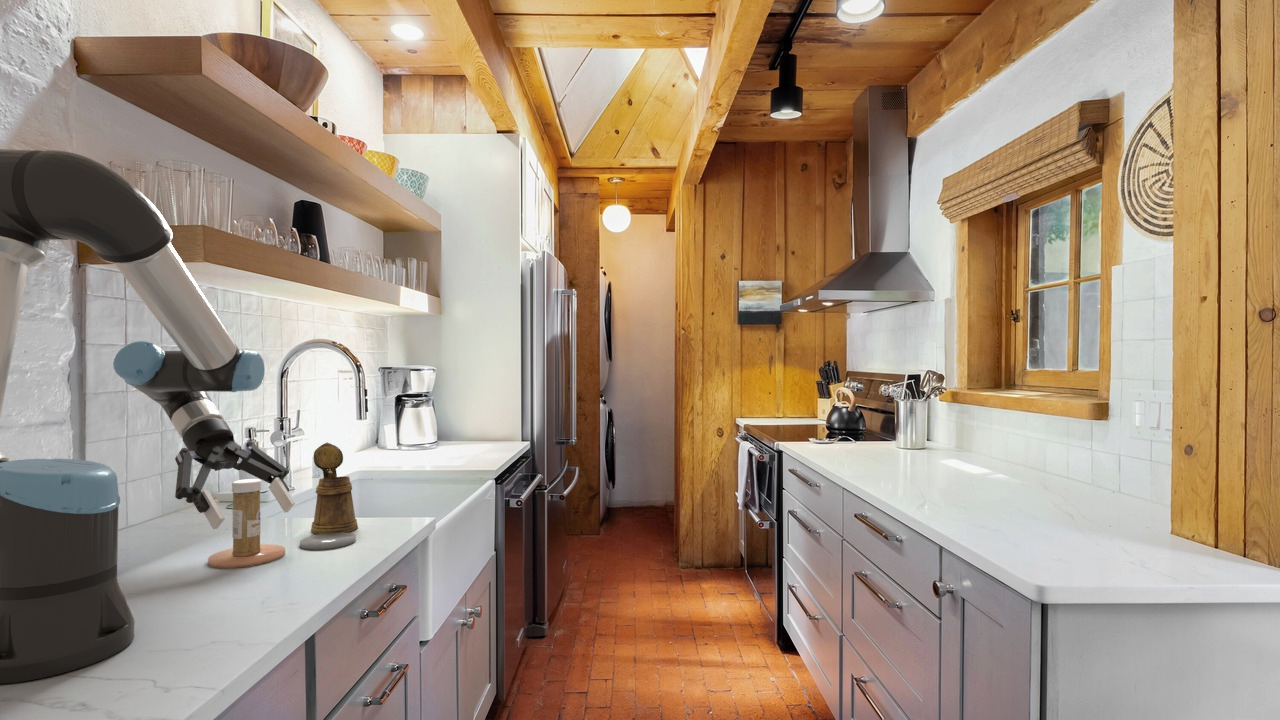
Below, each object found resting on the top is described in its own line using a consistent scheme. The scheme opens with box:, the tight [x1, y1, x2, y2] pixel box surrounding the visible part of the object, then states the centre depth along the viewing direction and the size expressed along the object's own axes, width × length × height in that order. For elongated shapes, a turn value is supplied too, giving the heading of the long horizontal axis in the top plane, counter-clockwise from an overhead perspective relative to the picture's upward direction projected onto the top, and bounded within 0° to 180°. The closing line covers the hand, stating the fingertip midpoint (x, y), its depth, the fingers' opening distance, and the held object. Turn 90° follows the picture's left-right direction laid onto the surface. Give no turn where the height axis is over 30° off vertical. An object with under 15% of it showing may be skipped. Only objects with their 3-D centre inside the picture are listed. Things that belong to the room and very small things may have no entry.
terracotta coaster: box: [207, 543, 286, 569], centre depth 116 cm, size 12×12×1 cm
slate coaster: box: [299, 532, 357, 551], centre depth 126 cm, size 10×10×1 cm
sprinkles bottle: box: [231, 478, 262, 557], centre depth 116 cm, size 5×5×14 cm
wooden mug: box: [310, 442, 359, 535], centre depth 138 cm, size 9×14×18 cm, turn 37°
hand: (256, 515), depth 115 cm, fingers open, 13 cm apart
